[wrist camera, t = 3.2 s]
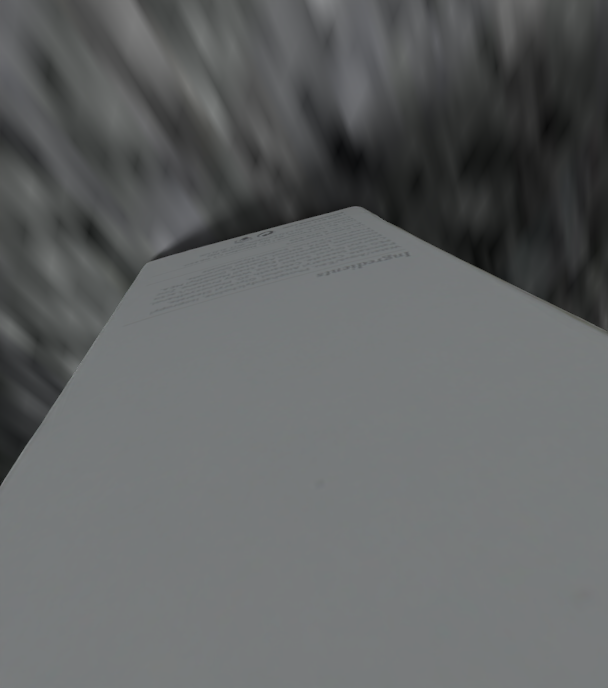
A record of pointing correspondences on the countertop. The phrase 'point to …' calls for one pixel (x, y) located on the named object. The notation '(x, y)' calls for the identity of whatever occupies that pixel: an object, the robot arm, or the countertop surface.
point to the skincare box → (316, 479)
